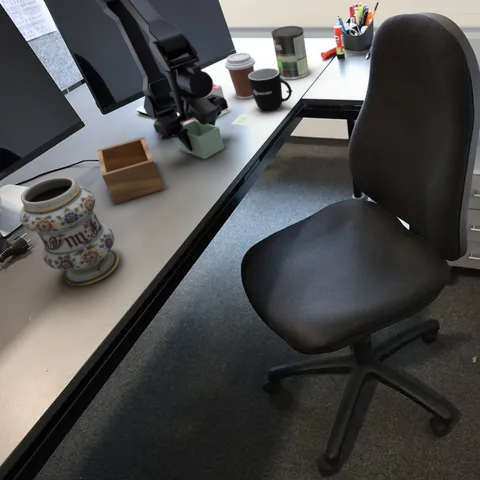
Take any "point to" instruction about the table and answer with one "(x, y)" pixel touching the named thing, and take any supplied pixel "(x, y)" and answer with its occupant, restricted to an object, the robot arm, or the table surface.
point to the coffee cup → (241, 73)
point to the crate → (129, 170)
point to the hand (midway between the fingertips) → (201, 145)
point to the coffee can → (290, 52)
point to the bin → (203, 139)
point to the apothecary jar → (69, 230)
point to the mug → (267, 89)
